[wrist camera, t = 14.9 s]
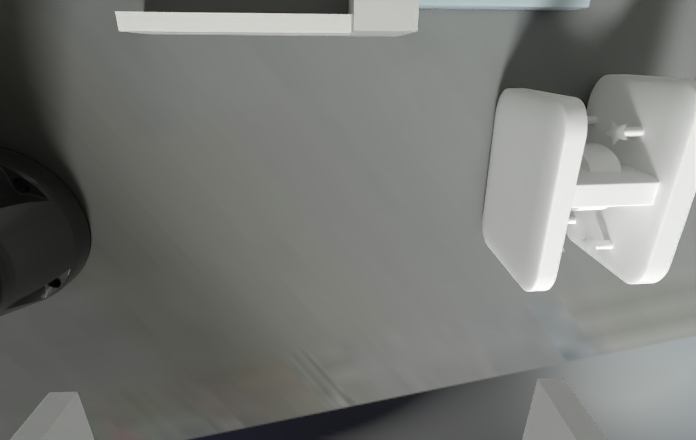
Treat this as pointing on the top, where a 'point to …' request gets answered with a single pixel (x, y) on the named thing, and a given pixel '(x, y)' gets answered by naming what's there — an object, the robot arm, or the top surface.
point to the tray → (505, 4)
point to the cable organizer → (592, 177)
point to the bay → (282, 21)
